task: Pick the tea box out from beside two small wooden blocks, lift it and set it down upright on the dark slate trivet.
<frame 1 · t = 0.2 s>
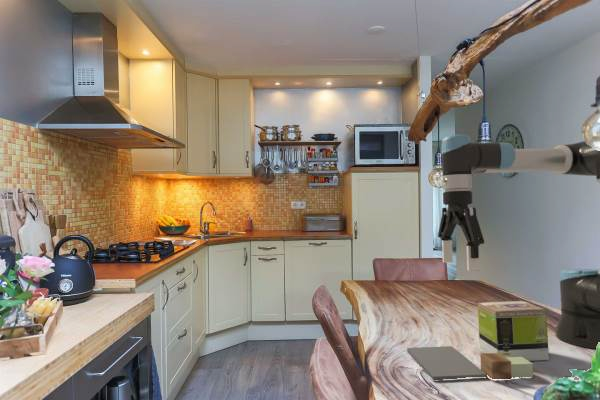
hand: (459, 266, 97), 28 cm above the table, tool pointing down, fingers open, 13 cm apart
sage painted block: (516, 375, 91), on the table
walnut cube: (495, 376, 90), on the table
slate trivet: (443, 364, 98), on the table
tea box: (512, 355, 103), on the table
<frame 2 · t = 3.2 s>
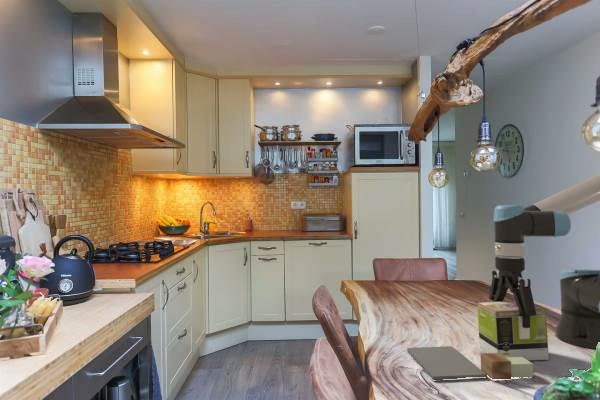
hand: (511, 331, 103), 7 cm above the table, tool pointing down, fingers closed on tea box, 10 cm apart
tea box: (512, 355, 103), on the table, touching gripper
everything else where it was.
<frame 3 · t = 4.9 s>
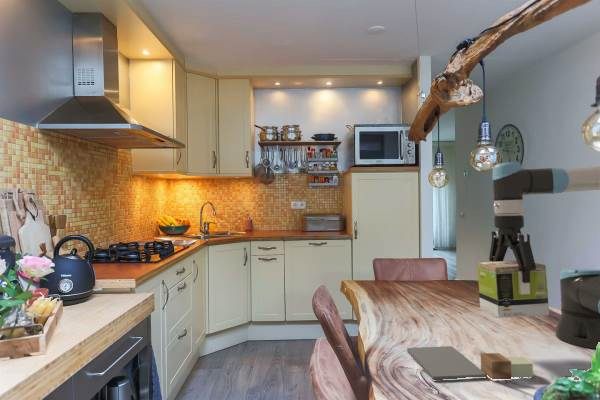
hand: (511, 289, 103), 19 cm above the table, tool pointing down, fingers closed on tea box, 10 cm apart
tea box: (512, 313, 103), point 12 cm above the table, touching gripper
everything else where it was.
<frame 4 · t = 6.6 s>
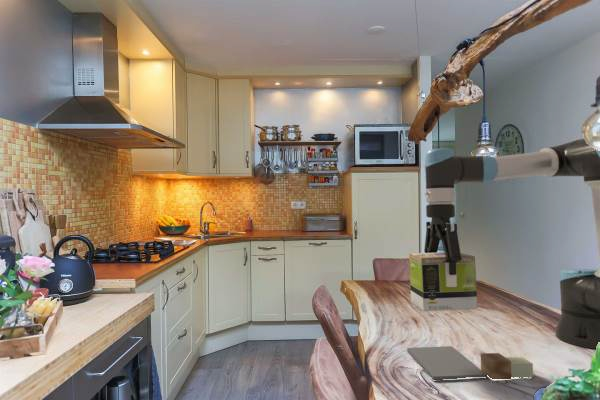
hand: (441, 282, 98), 23 cm above the table, tool pointing down, fingers closed on tea box, 10 cm apart
tea box: (442, 306, 98), point 16 cm above the table, touching gripper
everything else where it was.
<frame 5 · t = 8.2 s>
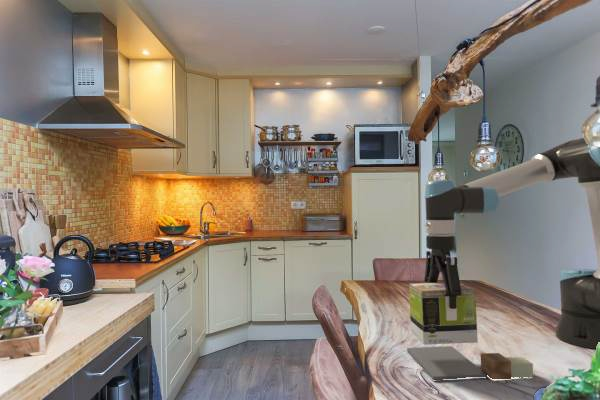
hand: (441, 313, 98), 14 cm above the table, tool pointing down, fingers closed on tea box, 10 cm apart
tea box: (442, 338, 98), point 7 cm above the table, touching gripper
everything else where it was.
when the fingers open (9 cm above the table, at t = 9.7 s): tea box drops 1 cm, resting on slate trivet.
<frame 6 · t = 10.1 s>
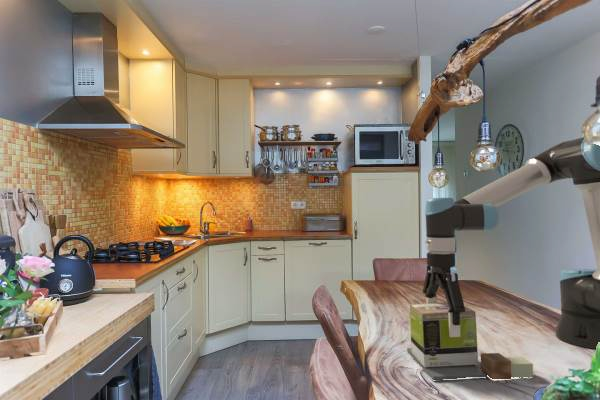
hand: (442, 327, 98), 10 cm above the table, tool pointing down, fingers open, 13 cm apart
tea box: (442, 360, 98), point 1 cm above the table, touching slate trivet
everything else where it was.
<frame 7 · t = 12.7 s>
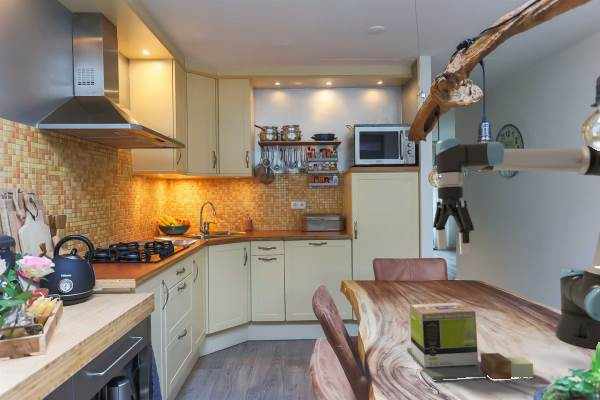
hand: (452, 251, 113), 30 cm above the table, tool pointing down, fingers open, 13 cm apart
nothing on the table moved.
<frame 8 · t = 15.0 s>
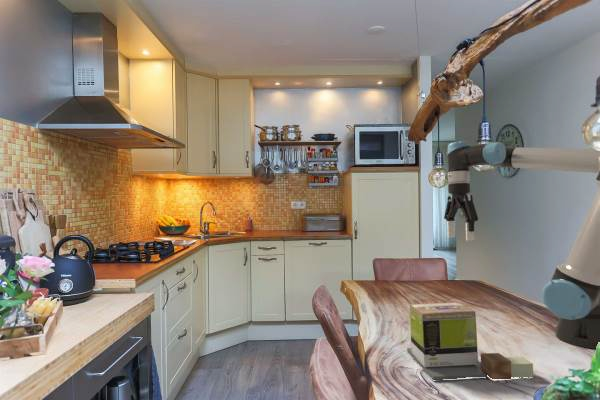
hand: (460, 239, 132), 32 cm above the table, tool pointing down, fingers open, 13 cm apart
nothing on the table moved.
at the end: tea box inside the target area on the slate trivet (0.4 cm from its centre), point 1.0 cm above the slate trivet's base; tea box tilted 0°; the gripper is holding nothing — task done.
